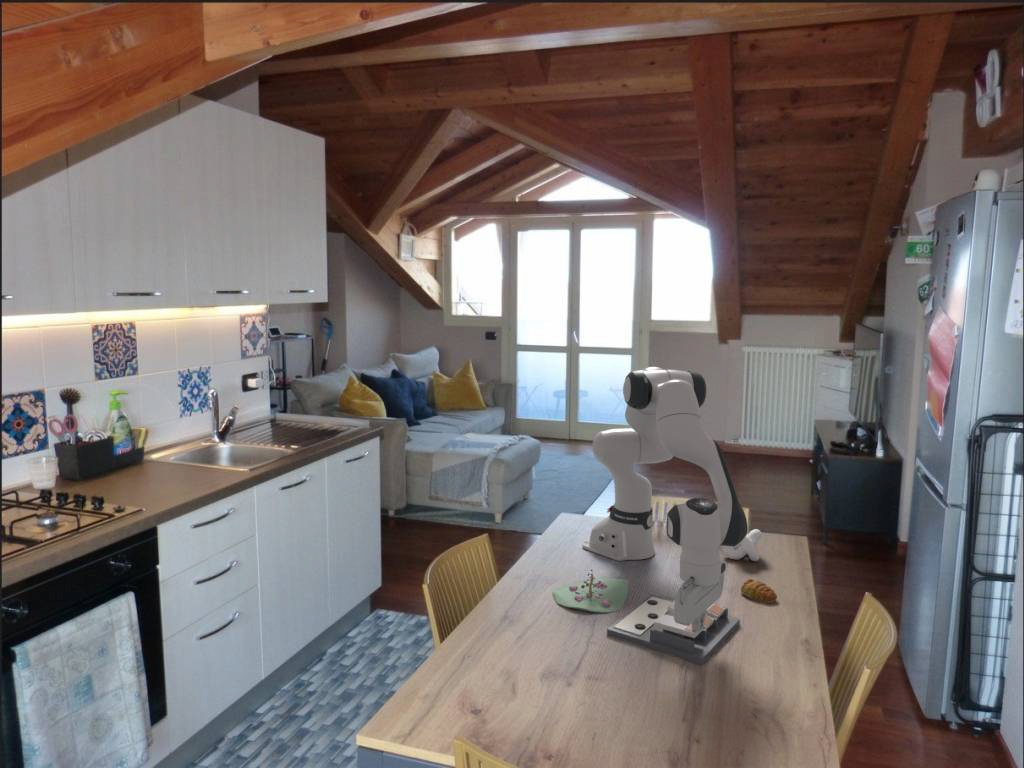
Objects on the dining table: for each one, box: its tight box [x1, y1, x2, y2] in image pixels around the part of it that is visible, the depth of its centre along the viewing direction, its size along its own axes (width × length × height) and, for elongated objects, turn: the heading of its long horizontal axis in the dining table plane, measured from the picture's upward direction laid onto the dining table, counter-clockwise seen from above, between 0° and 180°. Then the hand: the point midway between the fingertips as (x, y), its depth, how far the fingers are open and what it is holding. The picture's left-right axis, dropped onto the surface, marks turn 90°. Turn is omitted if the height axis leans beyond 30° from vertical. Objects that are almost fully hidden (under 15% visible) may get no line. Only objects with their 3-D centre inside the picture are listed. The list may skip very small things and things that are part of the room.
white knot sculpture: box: [721, 528, 762, 562], centre depth 234 cm, size 11×12×9 cm
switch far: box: [706, 602, 725, 619], centre depth 192 cm, size 10×5×1 cm, turn 55°
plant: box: [552, 569, 629, 614], centre depth 209 cm, size 25×21×9 cm
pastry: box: [740, 578, 778, 604], centre depth 208 cm, size 9×7×4 cm
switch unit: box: [606, 594, 741, 666], centre depth 189 cm, size 24×24×4 cm
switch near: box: [654, 614, 703, 638], centre depth 181 cm, size 10×5×1 cm, turn 54°
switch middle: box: [667, 600, 714, 630], centre depth 187 cm, size 10×5×1 cm, turn 55°
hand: (697, 628), depth 178 cm, fingers closed, pressing on switch near
